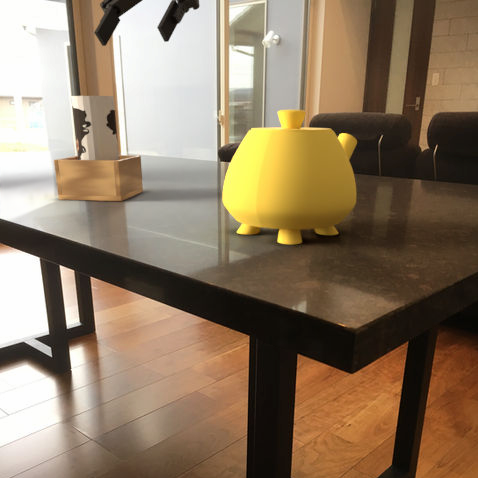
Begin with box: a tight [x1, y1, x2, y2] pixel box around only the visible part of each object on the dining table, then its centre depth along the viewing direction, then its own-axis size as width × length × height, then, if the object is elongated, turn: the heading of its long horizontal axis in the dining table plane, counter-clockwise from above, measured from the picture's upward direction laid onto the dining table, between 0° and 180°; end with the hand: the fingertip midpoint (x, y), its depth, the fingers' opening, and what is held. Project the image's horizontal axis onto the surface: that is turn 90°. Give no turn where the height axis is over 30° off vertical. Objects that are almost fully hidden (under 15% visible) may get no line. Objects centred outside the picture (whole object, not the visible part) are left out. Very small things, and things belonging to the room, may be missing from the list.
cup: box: [70, 95, 120, 161], centre depth 87 cm, size 7×7×15 cm
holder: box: [53, 154, 144, 202], centre depth 89 cm, size 11×11×6 cm
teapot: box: [222, 109, 358, 245], centre depth 61 cm, size 20×16×14 cm
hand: (130, 37), depth 89 cm, fingers open, 13 cm apart
